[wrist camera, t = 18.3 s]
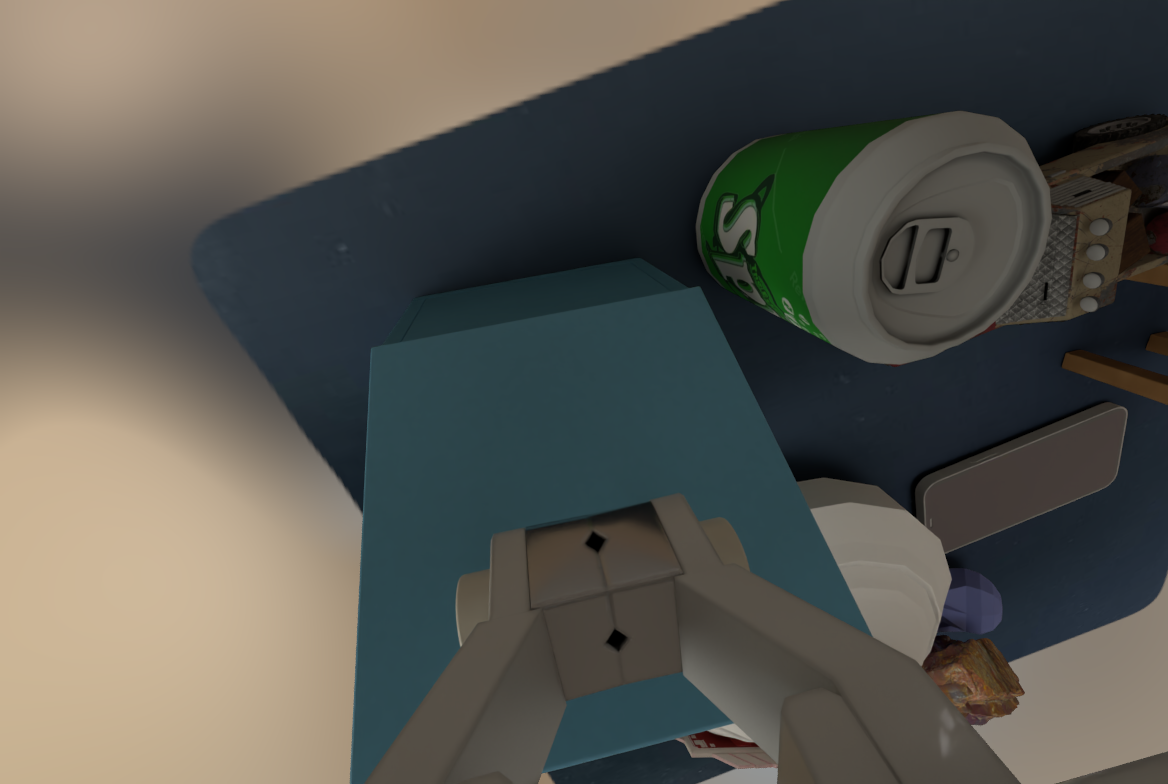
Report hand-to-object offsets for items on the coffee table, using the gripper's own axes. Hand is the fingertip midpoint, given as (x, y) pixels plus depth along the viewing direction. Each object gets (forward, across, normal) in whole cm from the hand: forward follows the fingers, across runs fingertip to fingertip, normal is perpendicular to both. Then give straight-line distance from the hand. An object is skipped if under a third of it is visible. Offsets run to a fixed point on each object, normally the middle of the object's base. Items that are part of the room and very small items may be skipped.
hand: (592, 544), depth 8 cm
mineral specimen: (+10, -21, +32) cm, 40 cm away
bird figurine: (+14, -28, +27) cm, 41 cm away
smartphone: (+19, -31, +19) cm, 41 cm away
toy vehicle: (+19, -25, +1) cm, 31 cm away
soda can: (+19, -12, -2) cm, 22 cm away
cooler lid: (+5, 0, +3) cm, 6 cm away
